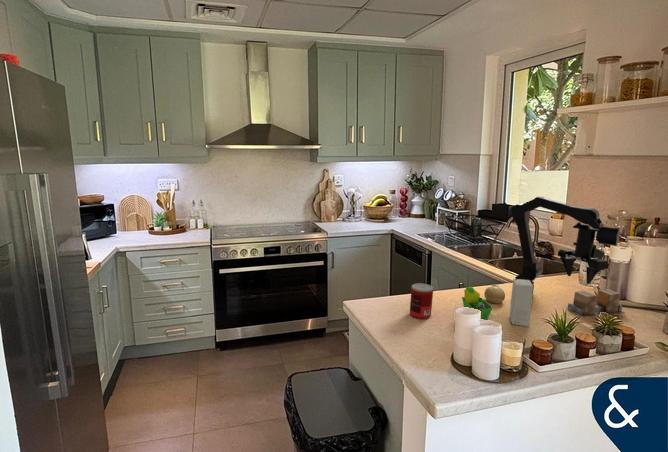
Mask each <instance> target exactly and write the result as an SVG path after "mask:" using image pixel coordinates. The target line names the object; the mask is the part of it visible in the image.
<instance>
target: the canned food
mask: <svg viewBox="0 0 668 452" xmlns="http://www.w3.org/2000/svg"><path fill="white" fill-rule="evenodd" d="M410 289H411V290H410V303H409V314H410V316H411V317H412V318H414V319H417V320H428V319H430V317H431V316H432V307H433V299H434V298H433V296H434V286H432V285H430V284H427V283H421V282H420V283H414V284H413V283H412V285H411V287H410Z"/></svg>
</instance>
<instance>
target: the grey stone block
mask: <svg viewBox="0 0 668 452" xmlns="http://www.w3.org/2000/svg"><path fill="white" fill-rule="evenodd" d="M572 302H573V303H572V304H574V305H577V306H579V307H581V308H583V309H584V313H583V314H593V313H595V308H596V302H597V295H596V294H594V293H592V292H589V291H586V290H579V291H575V292H574V297H573V301H572Z"/></svg>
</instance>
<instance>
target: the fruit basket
mask: <svg viewBox="0 0 668 452" xmlns="http://www.w3.org/2000/svg"><path fill="white" fill-rule="evenodd" d="M463 294H464V296H462V297H461V300H462V303H463V304H462V305H463V308H464V307H469V308H474V309H478V310H480V311H481V319H486V320H485V321H488V319H489V317H490V315H491V312H492V311H493V309H494V308H493V306H491V305H490V304H489V303H488V301H485V300H484V298H482V297H481V294H480V293H479V292H478V291H477V290H476V289H474V287H473V286H466V287H465V289H464V291H463Z"/></svg>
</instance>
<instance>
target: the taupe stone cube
mask: <svg viewBox="0 0 668 452" xmlns="http://www.w3.org/2000/svg"><path fill="white" fill-rule="evenodd" d="M621 295H622V294H621V293H619V292H617V291H614V290H612V289H609V288H607V289H606V288H605V289H604V288H603V289H598V290H597V302H596V305H603V306H606V311H607V312H613V311H618V307H619V304H620V300H621Z"/></svg>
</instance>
